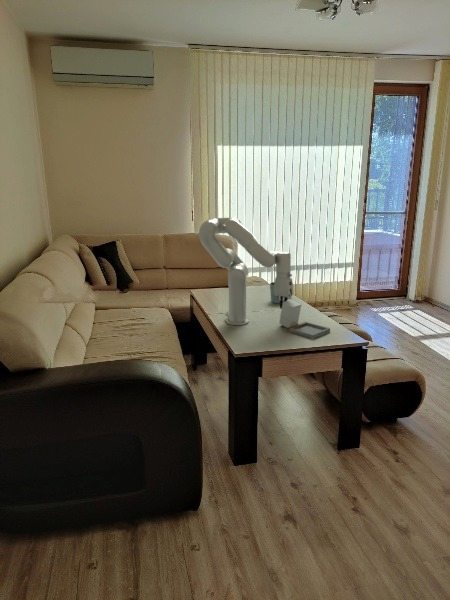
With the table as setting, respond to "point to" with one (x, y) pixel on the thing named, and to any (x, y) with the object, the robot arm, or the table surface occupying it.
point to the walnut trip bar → (297, 326)
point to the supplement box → (290, 313)
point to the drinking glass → (273, 297)
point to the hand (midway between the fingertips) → (283, 308)
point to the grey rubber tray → (311, 330)
